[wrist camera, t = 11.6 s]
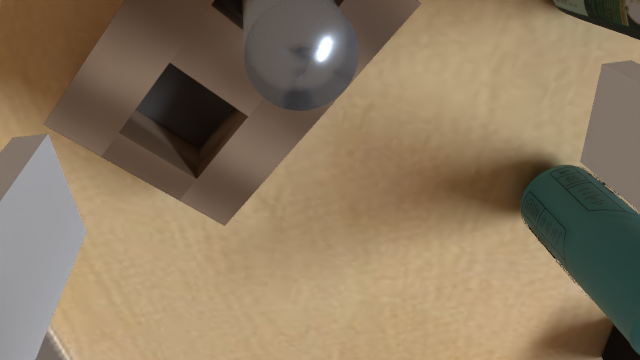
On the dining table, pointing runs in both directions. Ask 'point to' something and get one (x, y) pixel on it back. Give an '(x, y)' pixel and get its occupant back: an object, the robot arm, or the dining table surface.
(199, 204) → the peg block
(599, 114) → the robot arm
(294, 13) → the steel peg
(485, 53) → the dining table surface
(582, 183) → the beverage bottle
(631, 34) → the coffee jar
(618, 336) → the battery
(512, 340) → the dining table surface
